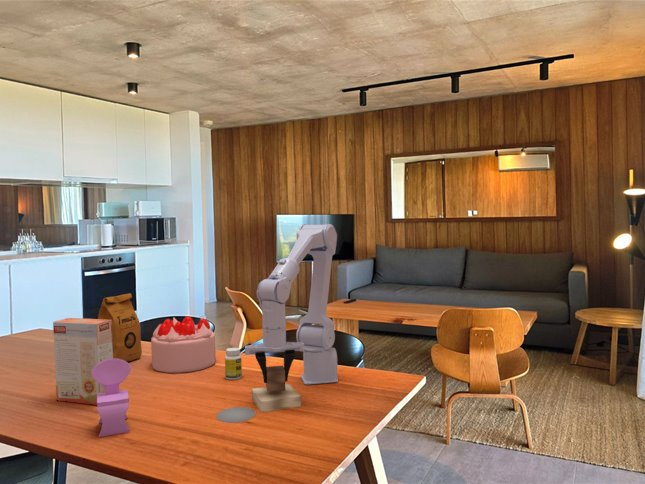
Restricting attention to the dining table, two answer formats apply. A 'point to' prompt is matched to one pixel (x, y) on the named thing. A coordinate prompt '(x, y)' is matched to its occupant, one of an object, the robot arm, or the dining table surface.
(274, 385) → the walnut block
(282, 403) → the maple block
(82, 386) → the cracker box
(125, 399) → the toy chair
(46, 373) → the dining table surface
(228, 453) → the dining table surface
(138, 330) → the coffee package
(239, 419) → the felt coaster
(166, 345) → the cake
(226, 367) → the supplement bottle
